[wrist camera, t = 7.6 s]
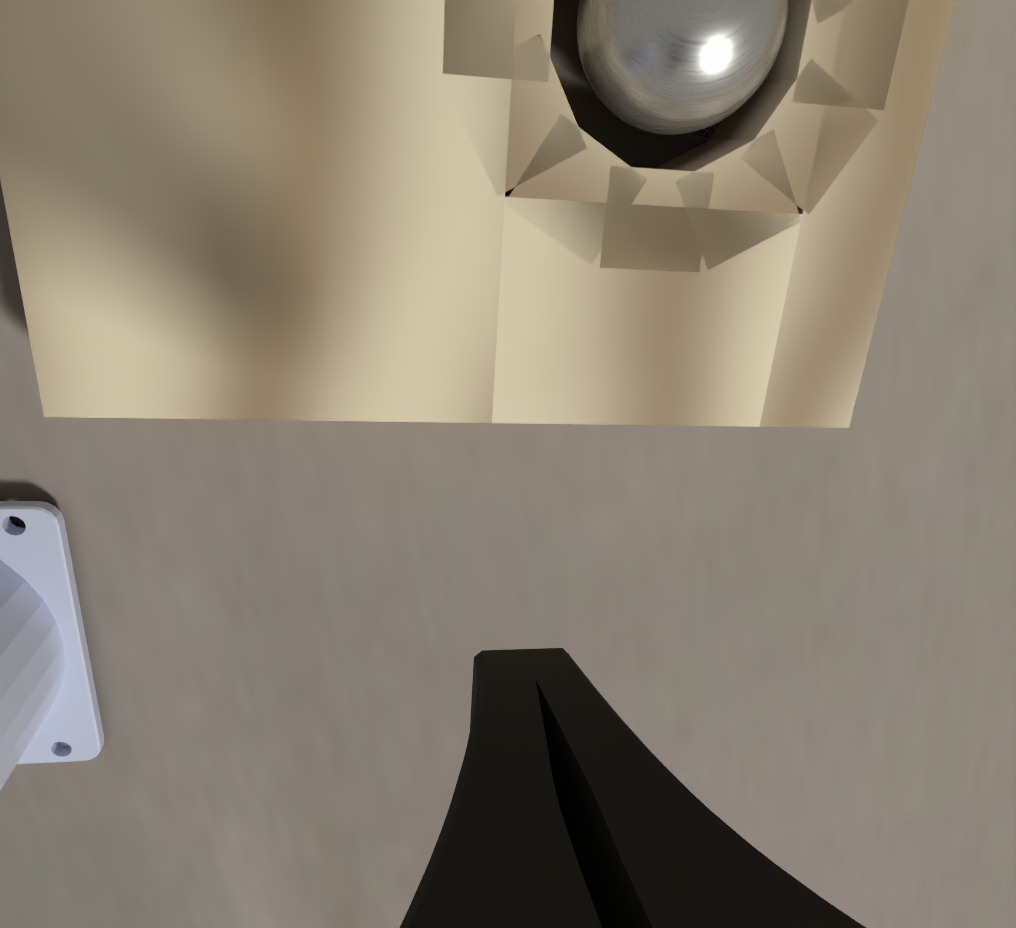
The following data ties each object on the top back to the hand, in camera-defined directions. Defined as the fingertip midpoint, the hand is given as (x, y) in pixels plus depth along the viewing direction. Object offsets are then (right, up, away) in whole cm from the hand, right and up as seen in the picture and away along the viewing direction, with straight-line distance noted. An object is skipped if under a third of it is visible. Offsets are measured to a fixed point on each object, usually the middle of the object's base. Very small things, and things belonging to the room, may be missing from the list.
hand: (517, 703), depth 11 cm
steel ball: (+3, +12, +3) cm, 13 cm away
